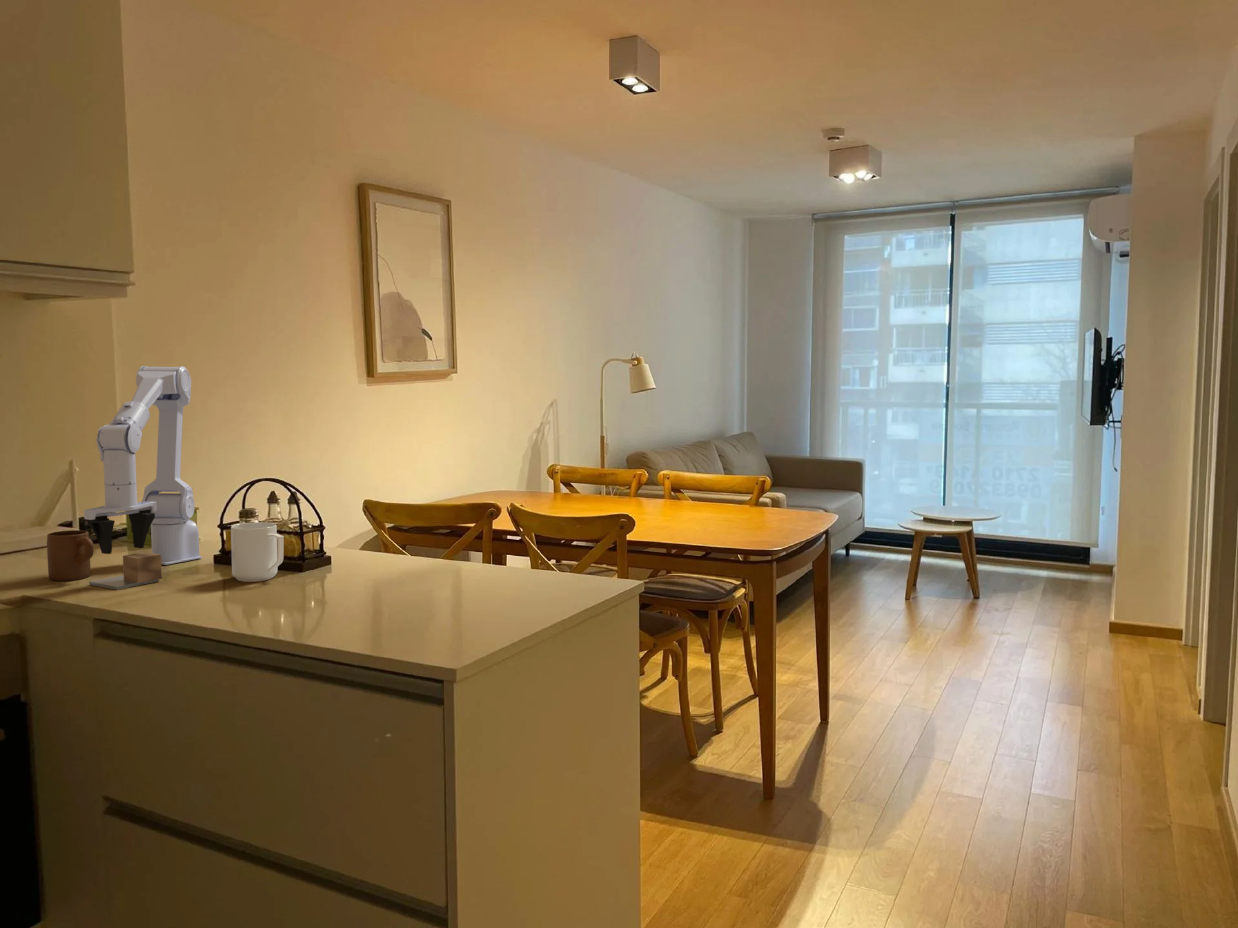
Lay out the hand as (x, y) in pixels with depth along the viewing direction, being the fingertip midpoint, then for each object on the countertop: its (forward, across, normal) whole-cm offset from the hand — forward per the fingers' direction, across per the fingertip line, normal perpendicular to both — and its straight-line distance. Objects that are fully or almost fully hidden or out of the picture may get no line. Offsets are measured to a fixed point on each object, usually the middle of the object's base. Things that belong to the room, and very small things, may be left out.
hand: (123, 550), depth 188 cm
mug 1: (+7, +2, -12) cm, 14 cm away
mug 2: (+7, -16, +21) cm, 27 cm away
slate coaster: (+7, 0, 0) cm, 7 cm away
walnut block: (+6, -2, +3) cm, 7 cm away
